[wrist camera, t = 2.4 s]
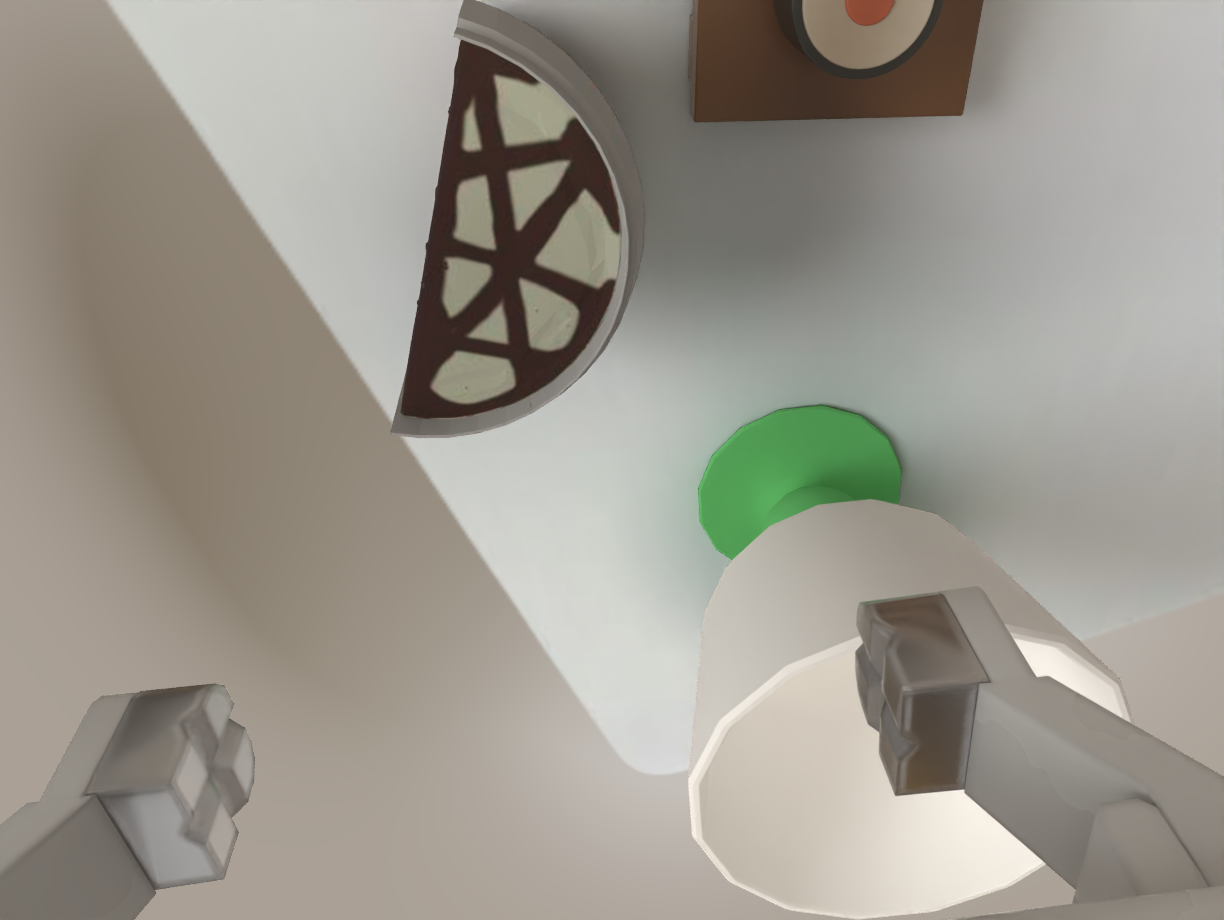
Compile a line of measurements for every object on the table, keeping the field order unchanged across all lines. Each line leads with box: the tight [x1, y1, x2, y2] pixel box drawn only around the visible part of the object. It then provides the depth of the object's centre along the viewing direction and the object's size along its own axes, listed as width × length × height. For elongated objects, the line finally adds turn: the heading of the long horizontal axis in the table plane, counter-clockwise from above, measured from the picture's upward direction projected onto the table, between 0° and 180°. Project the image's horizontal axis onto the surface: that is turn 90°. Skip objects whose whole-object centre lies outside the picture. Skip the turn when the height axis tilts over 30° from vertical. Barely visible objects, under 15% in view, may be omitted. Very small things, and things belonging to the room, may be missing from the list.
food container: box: [390, 0, 645, 438], centre depth 30 cm, size 12×6×10 cm, turn 166°
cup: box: [688, 405, 1135, 919], centre depth 36 cm, size 14×14×16 cm
